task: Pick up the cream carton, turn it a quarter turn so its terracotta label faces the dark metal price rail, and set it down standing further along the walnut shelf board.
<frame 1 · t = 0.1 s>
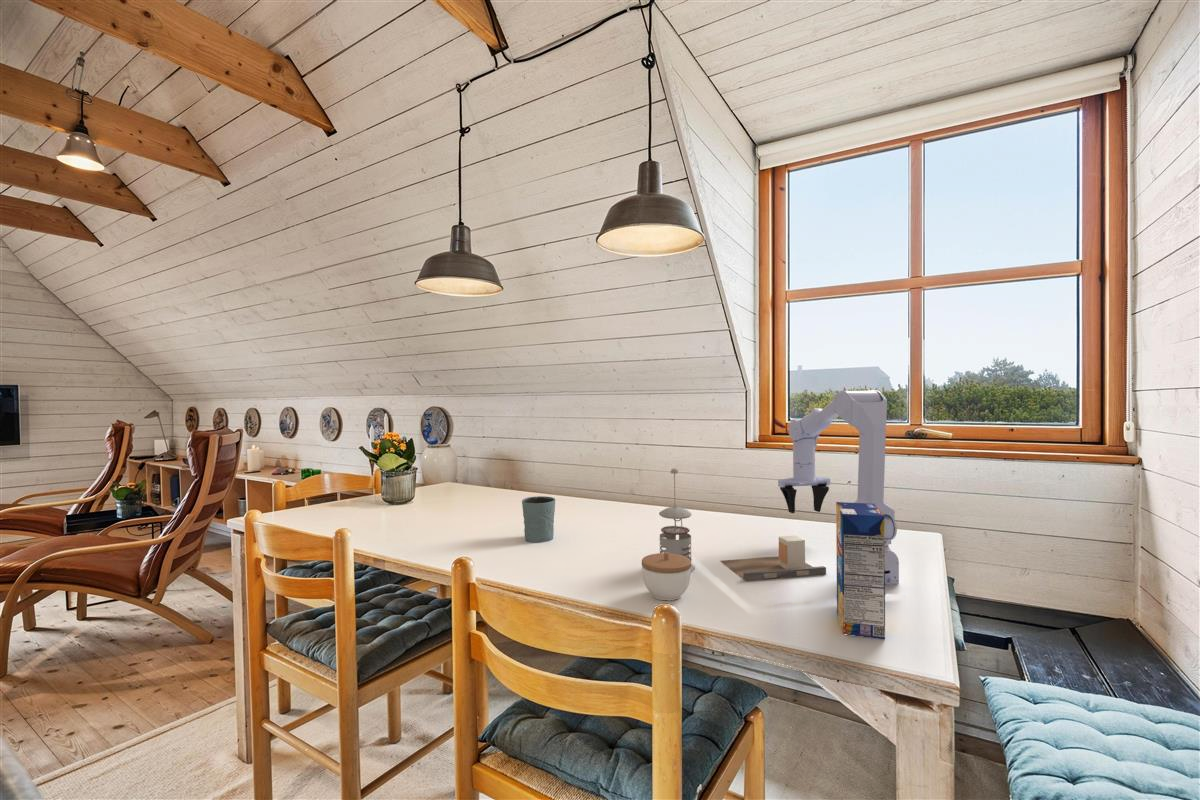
hand: (804, 511, 154), 10 cm above the table, tool pointing down, fingers open, 7 cm apart
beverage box: (859, 625, 105), on the table
teal textured cup: (539, 539, 168), on the table
carton: (791, 567, 135), point 1 cm above the table, touching shelf board
lidded jar: (666, 596, 121), on the table
french press: (676, 567, 140), on the table
shelf board: (770, 572, 135), on the table
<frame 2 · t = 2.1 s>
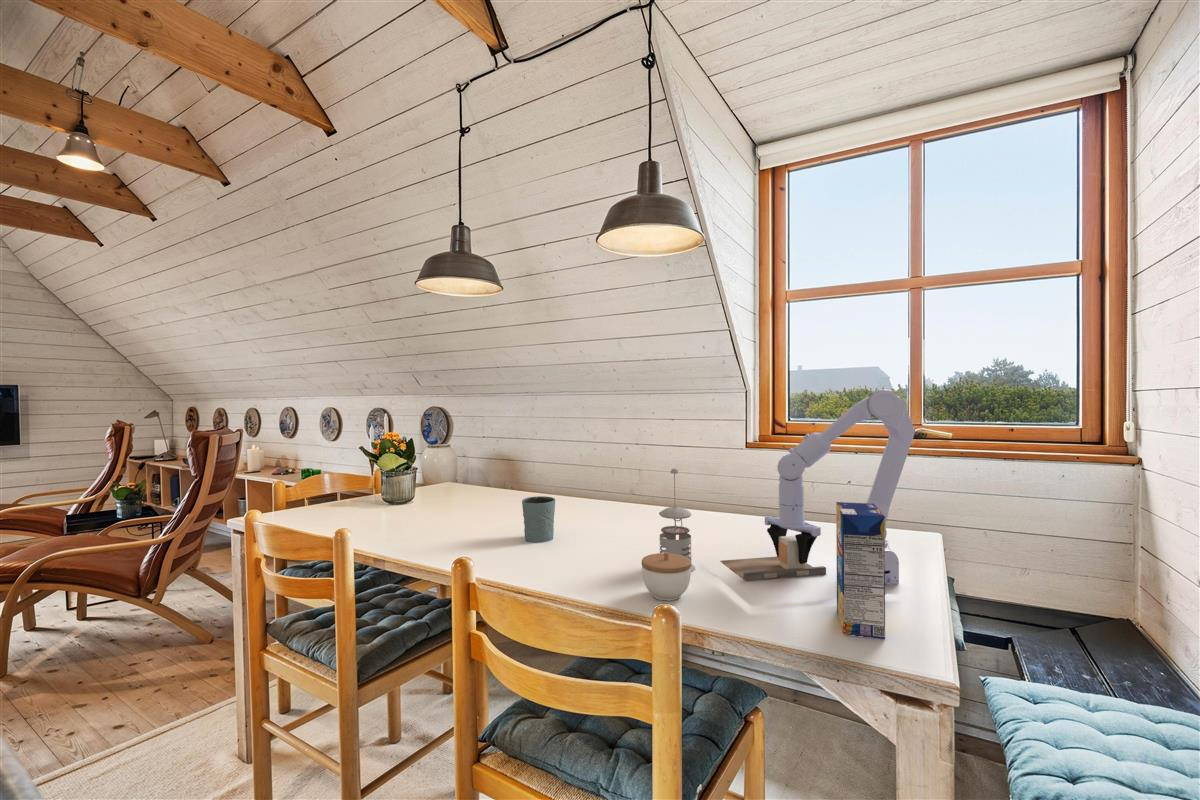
hand: (791, 559, 135), 3 cm above the table, tool pointing down, fingers closed on carton, 6 cm apart
carton: (791, 567, 135), point 1 cm above the table, touching gripper, shelf board
everything else where it was.
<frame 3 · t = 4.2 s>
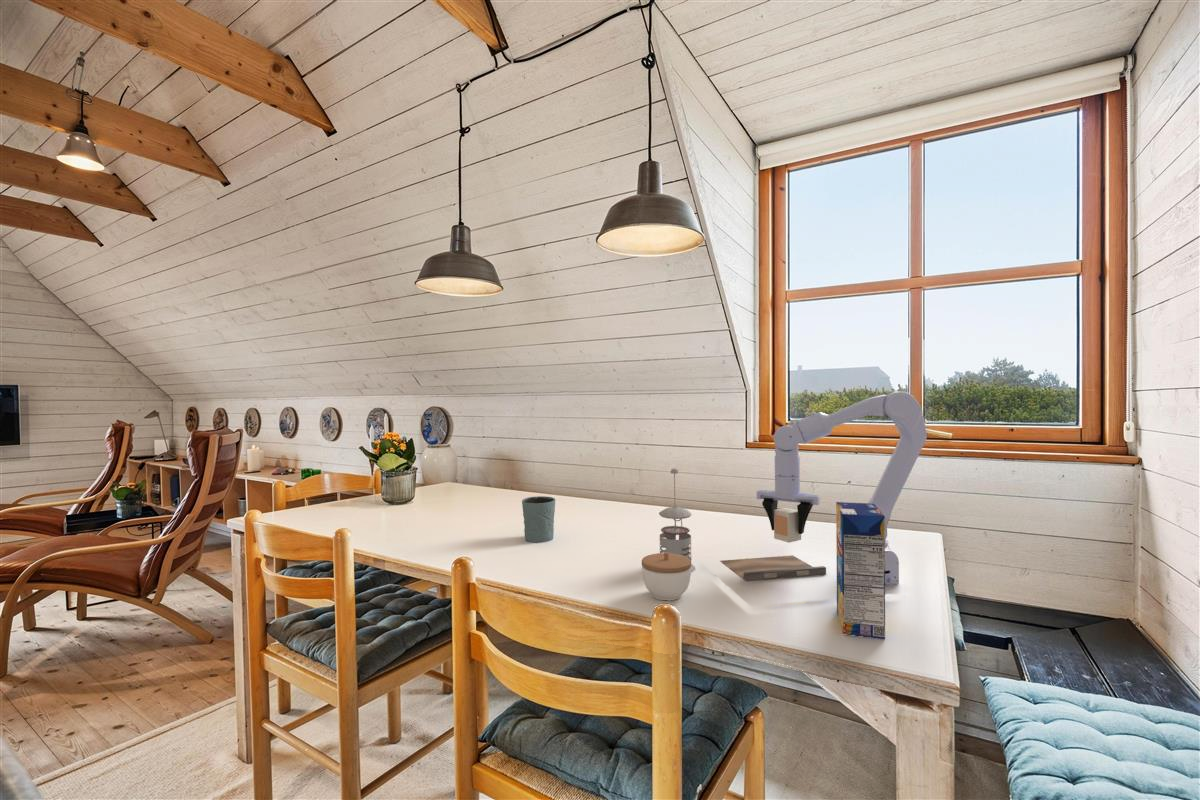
hand: (787, 531, 134), 10 cm above the table, tool pointing down, fingers closed on carton, 6 cm apart
carton: (787, 539, 134), point 8 cm above the table, touching gripper
everything else where it was.
when the fingers open (4 cm above the table, at t = 6.5 s): carton drops 1 cm, resting on shelf board.
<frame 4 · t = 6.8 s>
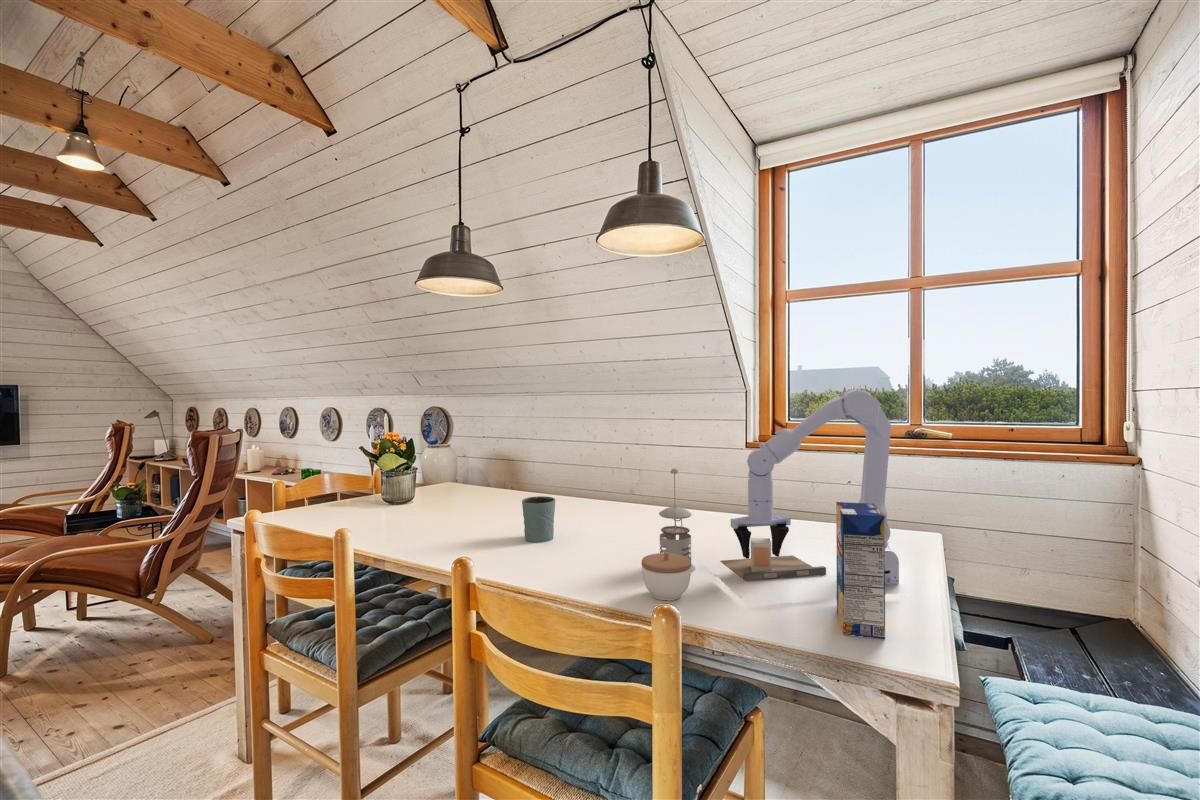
hand: (760, 556, 133), 4 cm above the table, tool pointing down, fingers open, 7 cm apart
carton: (760, 569, 133), point 1 cm above the table, touching shelf board
everything else where it was.
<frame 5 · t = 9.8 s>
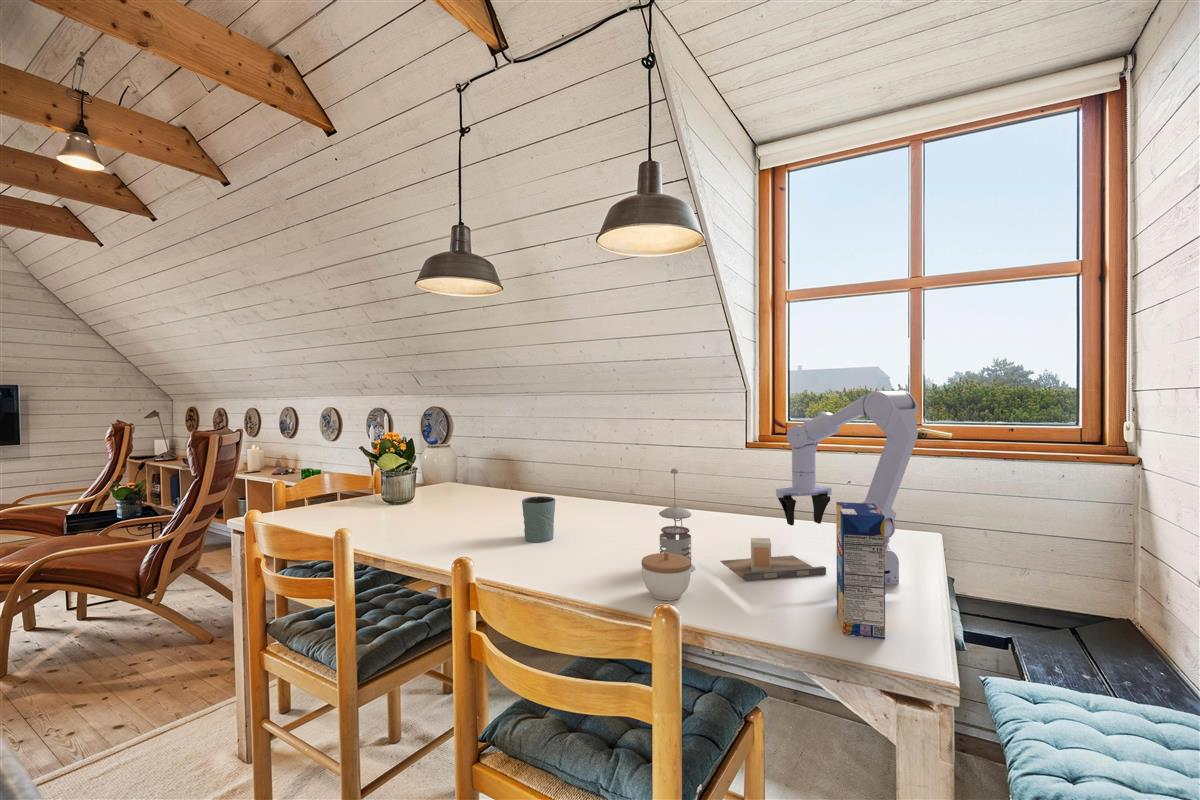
hand: (804, 523, 144), 9 cm above the table, tool pointing down, fingers open, 7 cm apart
nothing on the table moved.
at the end: carton 0.2 cm from the target spot, point 1.2 cm above the table; carton tilted 0°; the gripper is holding nothing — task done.
